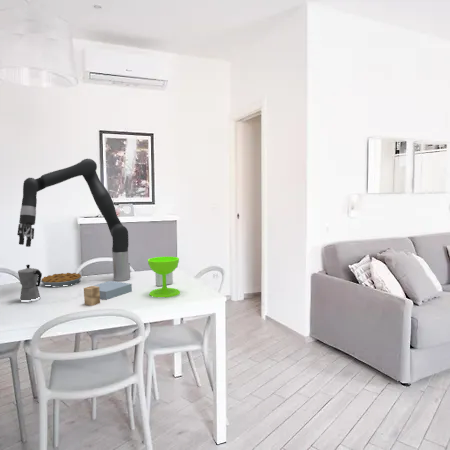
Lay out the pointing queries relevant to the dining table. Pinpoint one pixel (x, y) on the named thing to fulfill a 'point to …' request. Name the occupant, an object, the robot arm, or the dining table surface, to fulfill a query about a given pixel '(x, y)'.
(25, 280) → the coffeepot
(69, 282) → the pie
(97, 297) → the oak block
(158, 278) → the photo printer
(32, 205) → the robot arm
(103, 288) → the block
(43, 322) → the dining table surface
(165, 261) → the wineglass
